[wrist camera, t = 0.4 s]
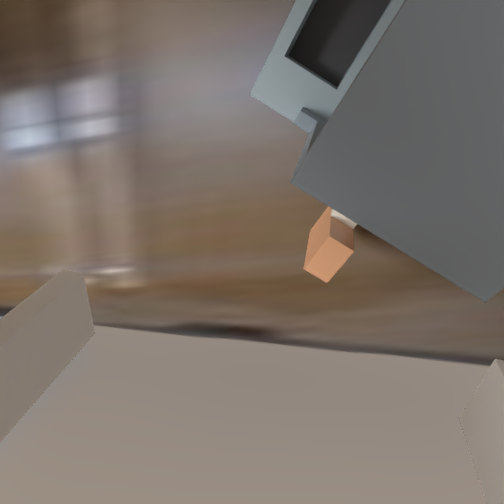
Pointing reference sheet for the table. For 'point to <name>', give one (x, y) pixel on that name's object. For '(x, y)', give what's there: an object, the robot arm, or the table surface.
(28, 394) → the robot arm
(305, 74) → the tunnel deck
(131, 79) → the table surface
